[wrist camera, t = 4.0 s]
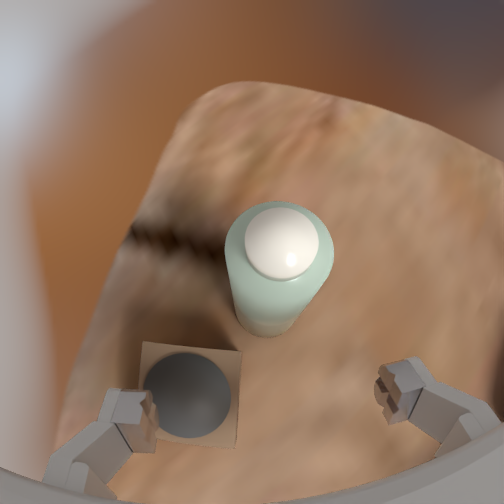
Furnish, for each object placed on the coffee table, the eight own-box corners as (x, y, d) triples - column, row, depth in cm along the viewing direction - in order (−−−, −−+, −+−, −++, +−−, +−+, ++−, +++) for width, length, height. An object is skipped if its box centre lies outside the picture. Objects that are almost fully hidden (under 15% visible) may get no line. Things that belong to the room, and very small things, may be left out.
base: (236, 439, 18) (234, 449, 15) (149, 428, 18) (134, 434, 15) (242, 355, 20) (241, 351, 17) (156, 346, 20) (142, 340, 17)
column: (296, 339, 21) (341, 299, 11) (232, 335, 21) (217, 291, 11) (298, 278, 22) (335, 195, 12) (237, 275, 22) (229, 187, 13)
